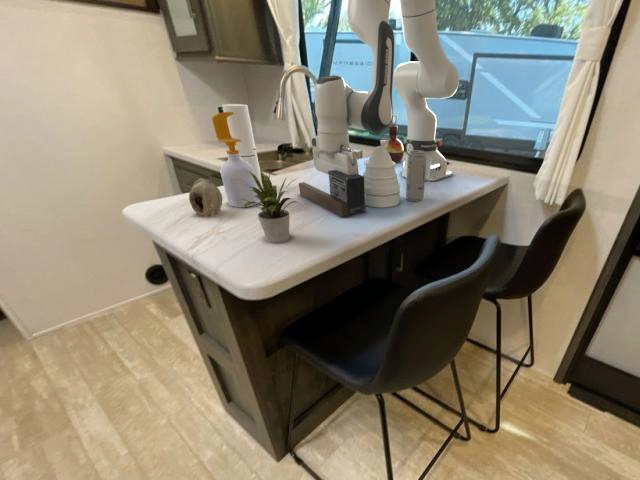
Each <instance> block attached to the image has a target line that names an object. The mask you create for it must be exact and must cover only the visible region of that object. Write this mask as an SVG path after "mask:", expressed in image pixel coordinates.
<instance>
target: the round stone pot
mask: <svg viewBox="0 0 640 480" xmlns="http://www.w3.org/2000/svg"><path fill="white" fill-rule="evenodd" d="M188 200H189V203H190V205H191V208H192V210H193V211H194V212H195V214H194V215H195V216H197V217H212V216H215V215H218V214H219V213H220V211H221V208H222V206H223V195H222V191H221V190H220V188H218V187H217V185H215V184H214V183H213V182H211V180H210V179H204V178H202V177H201V178H199V179H197V180H195V181H194V182H193V185H192V187H191V189H190V191H189V193H188Z"/></svg>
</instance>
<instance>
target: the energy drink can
mask: <svg viewBox="0 0 640 480" xmlns="http://www.w3.org/2000/svg"><path fill="white" fill-rule="evenodd" d="M426 160H427V157H426V155H425V151H422V150H411V151H410V154H409V155H408V163H407V178H406V183H405V185H406V186H405V187H406V188H405V197H406V198H407V201H410V202H421V201H422V199H423V198H424V197H425V184H426V180H425V173H426Z"/></svg>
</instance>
